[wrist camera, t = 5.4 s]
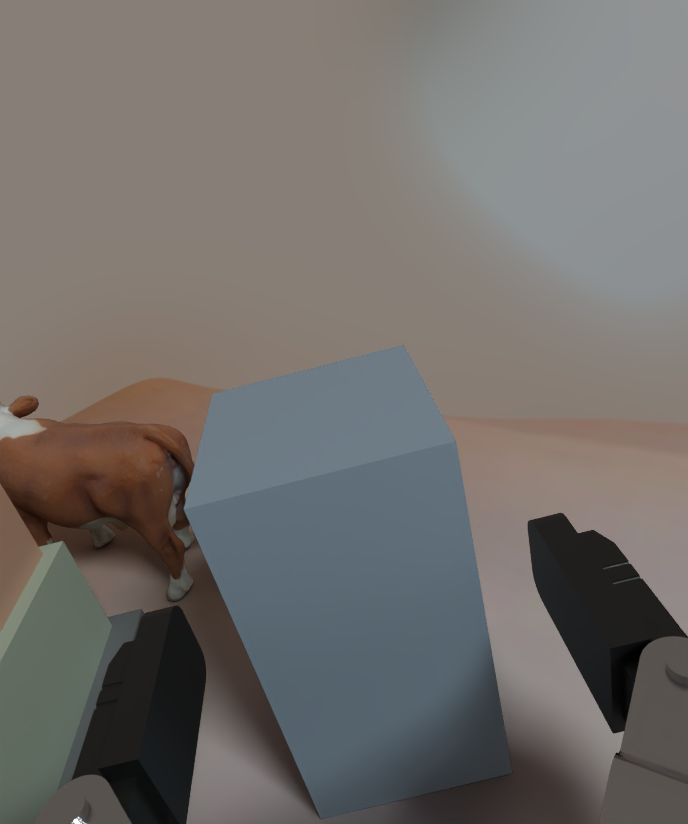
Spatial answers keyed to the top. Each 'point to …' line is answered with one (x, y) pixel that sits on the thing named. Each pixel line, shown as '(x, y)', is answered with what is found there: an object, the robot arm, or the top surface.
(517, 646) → the top surface
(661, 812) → the robot arm
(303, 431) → the column brick
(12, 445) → the bull figurine
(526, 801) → the top surface
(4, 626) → the brick tower
